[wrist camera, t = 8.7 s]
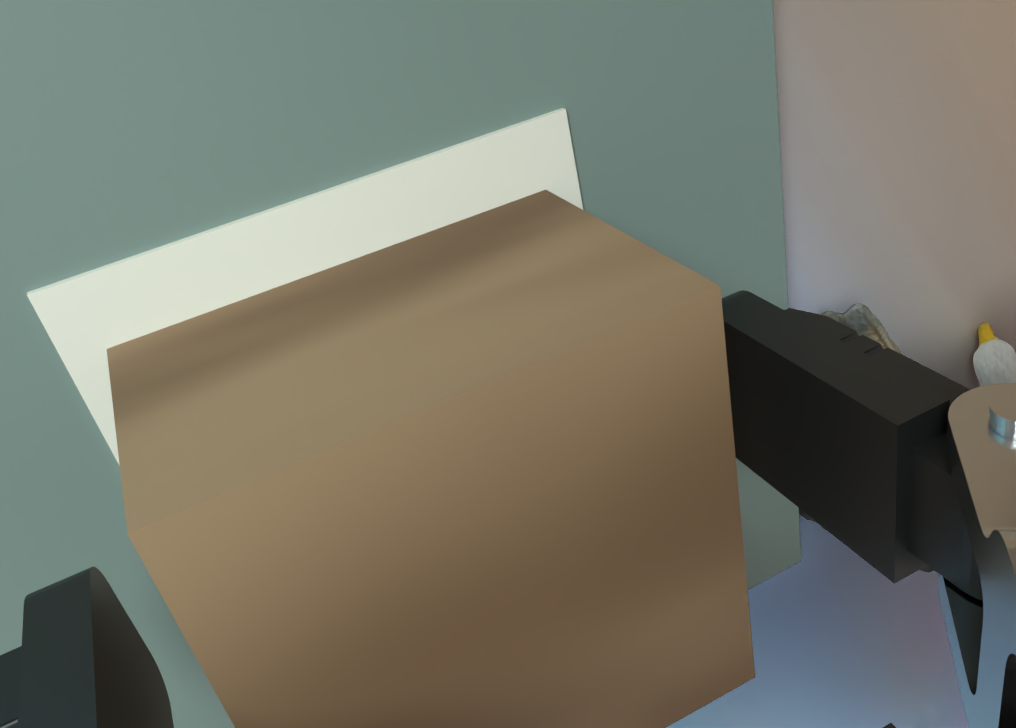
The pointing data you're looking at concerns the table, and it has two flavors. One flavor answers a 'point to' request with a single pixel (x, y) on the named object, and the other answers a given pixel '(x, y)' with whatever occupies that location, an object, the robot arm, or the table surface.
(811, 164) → the table surface
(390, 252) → the walnut brick
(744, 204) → the board
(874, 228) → the table surface
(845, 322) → the eagle figurine
